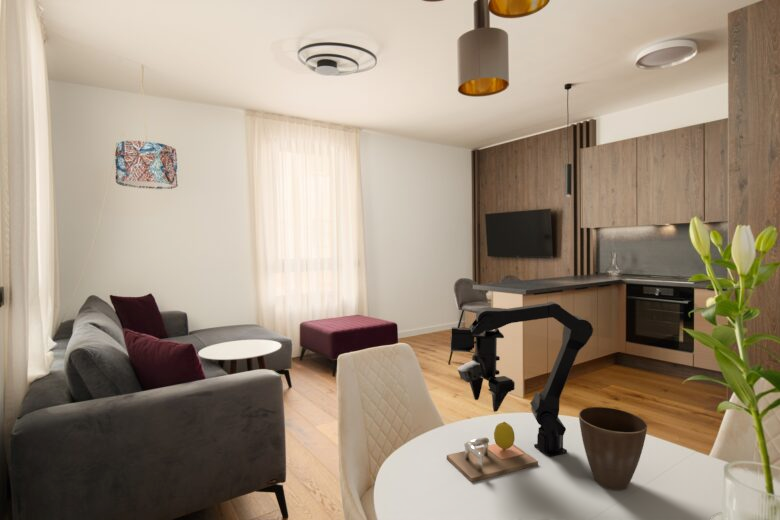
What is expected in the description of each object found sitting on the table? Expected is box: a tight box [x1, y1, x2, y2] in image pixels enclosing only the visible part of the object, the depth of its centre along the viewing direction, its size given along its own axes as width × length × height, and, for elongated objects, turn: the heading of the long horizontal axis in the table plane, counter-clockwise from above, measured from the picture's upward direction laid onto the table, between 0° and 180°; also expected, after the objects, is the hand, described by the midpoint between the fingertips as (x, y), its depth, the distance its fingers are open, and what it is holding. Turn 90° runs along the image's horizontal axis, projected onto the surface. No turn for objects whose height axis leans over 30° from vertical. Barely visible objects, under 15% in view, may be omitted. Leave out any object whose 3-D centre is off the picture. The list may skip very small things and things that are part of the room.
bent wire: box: [464, 437, 490, 472], centre depth 111 cm, size 8×8×5 cm
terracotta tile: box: [488, 443, 524, 460], centre depth 117 cm, size 8×8×1 cm
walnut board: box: [446, 443, 539, 483], centre depth 113 cm, size 21×12×1 cm, turn 113°
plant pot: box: [578, 406, 648, 491], centre depth 104 cm, size 15×15×16 cm
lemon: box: [493, 421, 515, 450], centre depth 117 cm, size 6×6×8 cm
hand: (485, 405), depth 122 cm, fingers open, 9 cm apart
